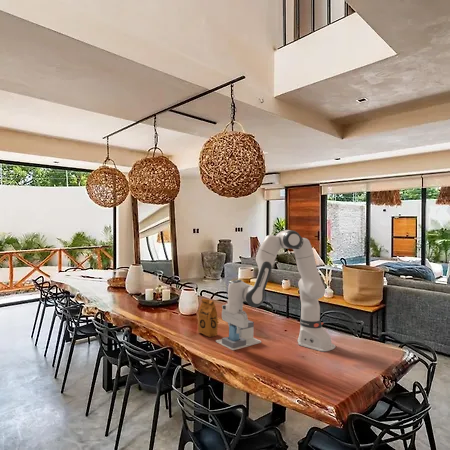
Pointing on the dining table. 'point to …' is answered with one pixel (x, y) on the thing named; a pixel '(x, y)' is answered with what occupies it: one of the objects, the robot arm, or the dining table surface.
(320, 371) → the dining table surface
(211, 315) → the coffee package
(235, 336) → the plug
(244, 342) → the square socket plate
